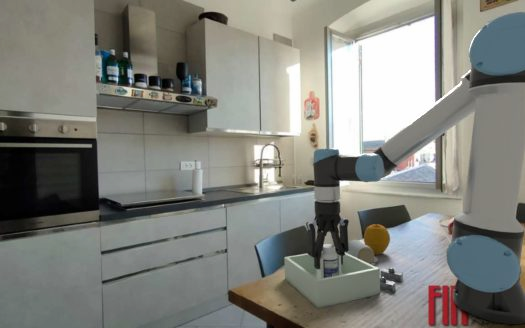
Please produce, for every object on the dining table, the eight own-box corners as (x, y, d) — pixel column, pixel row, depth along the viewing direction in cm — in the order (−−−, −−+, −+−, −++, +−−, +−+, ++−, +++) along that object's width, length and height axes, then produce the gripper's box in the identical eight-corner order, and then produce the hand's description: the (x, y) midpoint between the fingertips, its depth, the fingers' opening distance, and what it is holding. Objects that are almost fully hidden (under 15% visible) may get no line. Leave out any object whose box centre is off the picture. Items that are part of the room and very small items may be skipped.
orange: (392, 258, 107) (391, 227, 107) (365, 257, 110) (364, 226, 109) (388, 250, 116) (387, 221, 116) (363, 249, 119) (362, 221, 119)
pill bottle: (319, 274, 89) (318, 243, 89) (337, 274, 88) (336, 243, 88) (320, 281, 84) (319, 248, 84) (339, 282, 83) (338, 248, 83)
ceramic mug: (358, 268, 98) (358, 246, 98) (344, 261, 106) (344, 240, 106) (383, 264, 102) (383, 243, 102) (368, 257, 109) (368, 237, 109)
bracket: (383, 274, 93) (382, 264, 93) (403, 279, 89) (402, 268, 89) (371, 286, 85) (371, 275, 84) (393, 292, 81) (392, 280, 81)
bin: (380, 293, 80) (379, 268, 80) (318, 308, 73) (317, 281, 73) (337, 268, 99) (337, 248, 99) (285, 278, 92) (284, 257, 92)
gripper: (345, 196, 92) (346, 268, 93) (293, 201, 86) (295, 277, 86) (360, 199, 85) (362, 276, 86) (306, 204, 79) (308, 288, 79)
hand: (329, 277), depth 86 cm, fingers closed on pill bottle, 5 cm apart
